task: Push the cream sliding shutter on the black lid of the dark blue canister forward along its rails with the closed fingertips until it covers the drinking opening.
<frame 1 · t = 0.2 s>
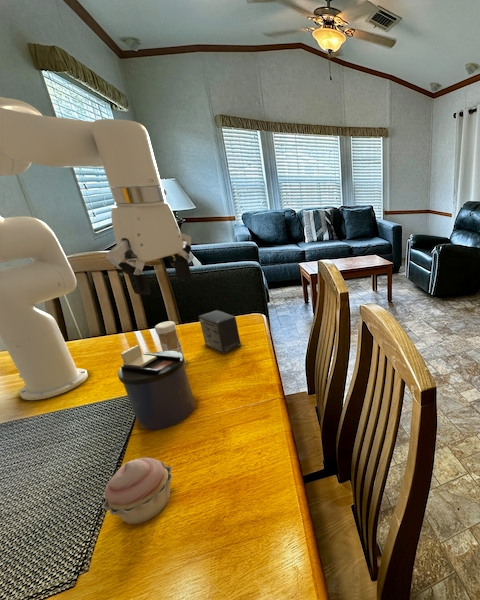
hand: (165, 285, 66), 31 cm above the table, tool pointing down, fingers open, 9 cm apart
dark blue canister: (168, 412, 76), on the table
slider: (138, 356, 71), point 15 cm above the table, slide at 0.0 cm
cupcake: (147, 507, 55), on the table
sprinkles bottle: (177, 366, 94), on the table
small box: (223, 346, 105), on the table
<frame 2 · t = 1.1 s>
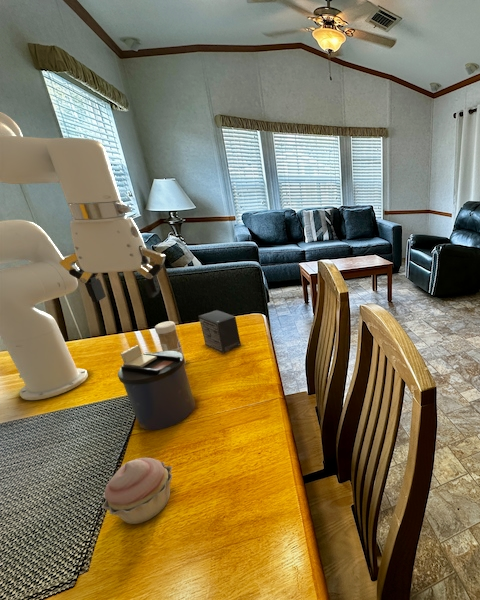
hand: (127, 297, 67), 28 cm above the table, tool pointing down, fingers open, 9 cm apart
nothing on the table moved.
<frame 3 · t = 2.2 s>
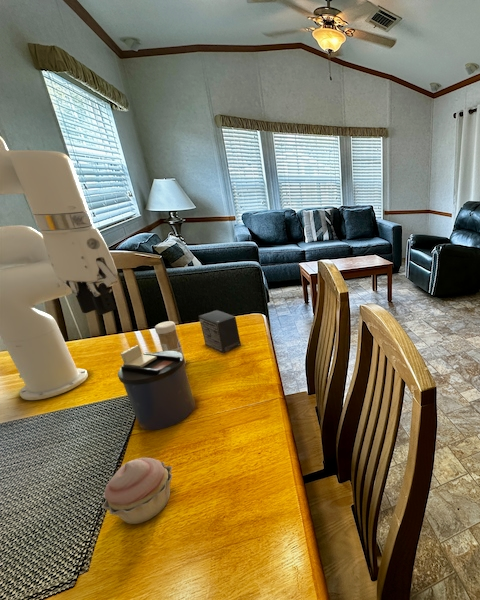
hand: (99, 310, 68), 25 cm above the table, tool pointing down, fingers open, 3 cm apart
nothing on the table moved.
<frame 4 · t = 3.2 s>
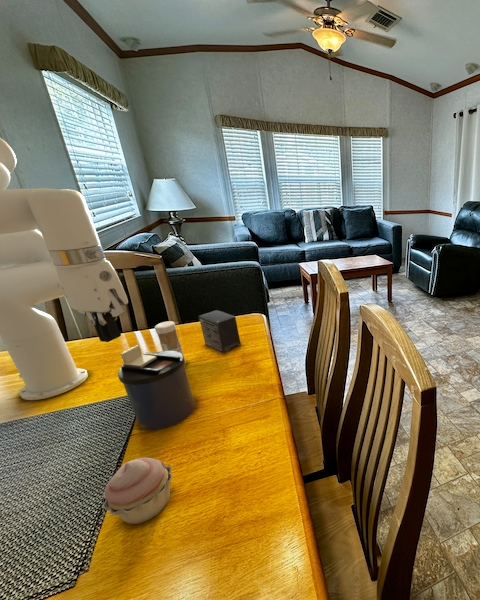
hand: (111, 338, 71), 19 cm above the table, tool pointing down, fingers closed
nothing on the table moved.
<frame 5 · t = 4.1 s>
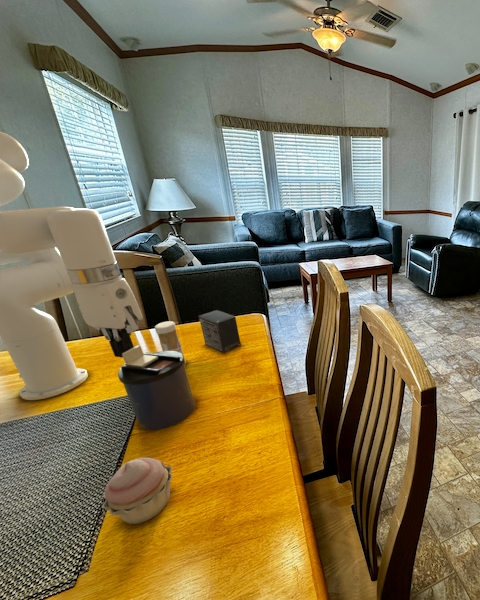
hand: (125, 353, 71), 15 cm above the table, tool pointing down, fingers closed
slider: (140, 356, 71), point 15 cm above the table, slide at 0.4 cm, touching gripper
everything else where it was.
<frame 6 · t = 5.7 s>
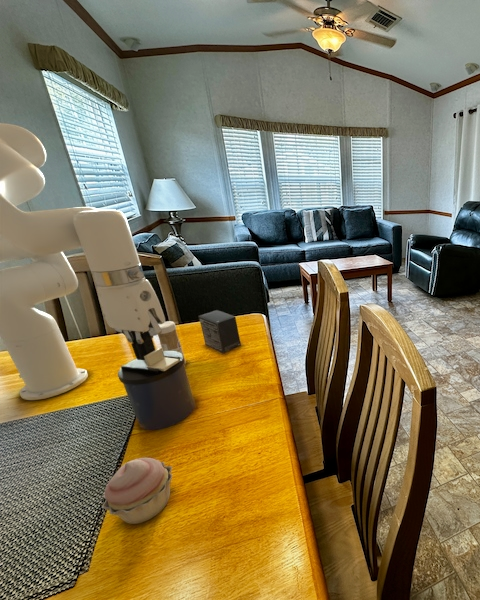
hand: (146, 356, 70), 15 cm above the table, tool pointing down, fingers closed
slider: (162, 359, 70), point 15 cm above the table, slide at 6.0 cm, touching gripper
everything else where it was.
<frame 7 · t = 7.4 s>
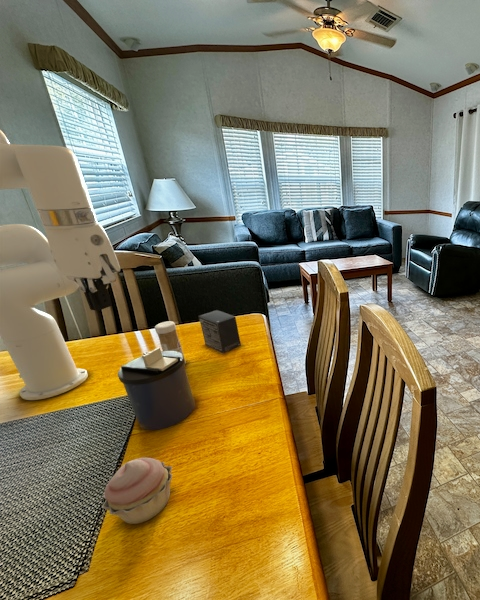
hand: (101, 307, 68), 26 cm above the table, tool pointing down, fingers closed
slider: (160, 358, 70), point 15 cm above the table, slide at 5.5 cm
everything else where it was.
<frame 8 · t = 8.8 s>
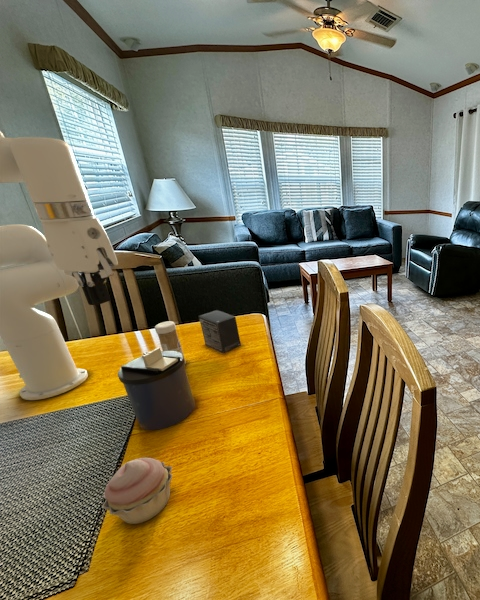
hand: (100, 302, 67), 27 cm above the table, tool pointing down, fingers closed
nothing on the table moved.
at the end: slider slide at 5.5 cm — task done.
